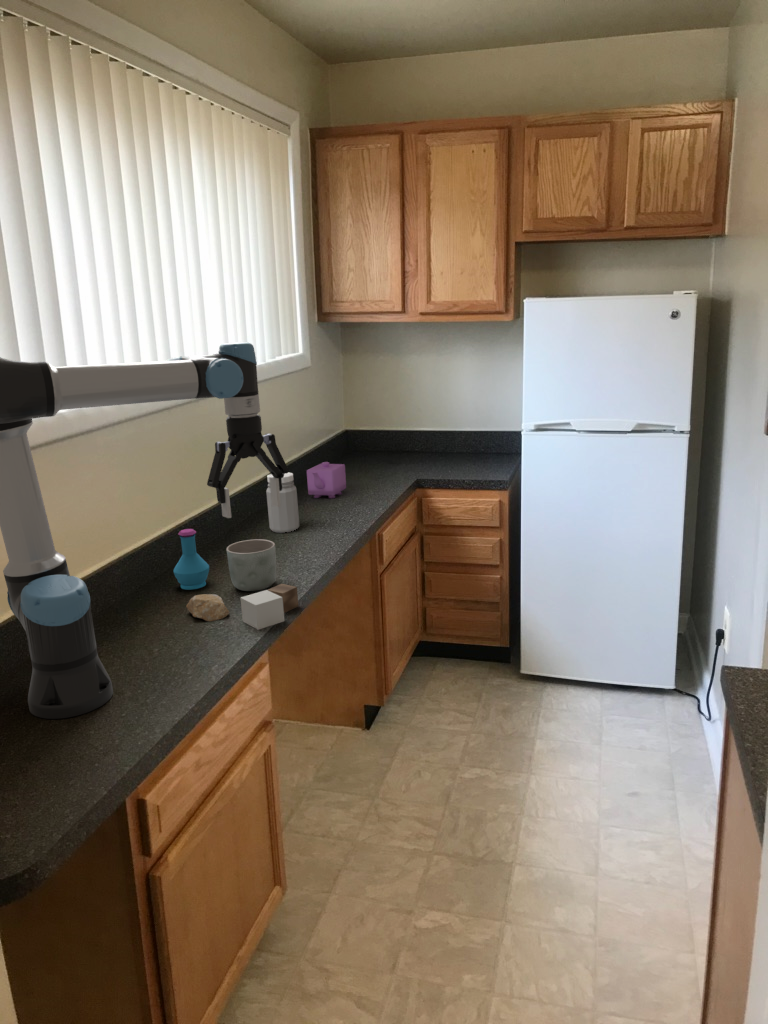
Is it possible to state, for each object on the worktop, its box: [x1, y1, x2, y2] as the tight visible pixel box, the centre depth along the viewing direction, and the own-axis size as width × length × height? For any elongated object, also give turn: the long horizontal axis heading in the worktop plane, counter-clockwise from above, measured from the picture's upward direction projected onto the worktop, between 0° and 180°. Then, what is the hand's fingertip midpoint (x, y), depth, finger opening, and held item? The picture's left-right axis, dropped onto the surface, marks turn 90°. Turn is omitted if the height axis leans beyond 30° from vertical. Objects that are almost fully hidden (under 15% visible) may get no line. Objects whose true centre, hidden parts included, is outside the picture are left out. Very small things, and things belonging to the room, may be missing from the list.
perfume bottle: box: [173, 528, 210, 591], centre depth 220 cm, size 9×9×15 cm
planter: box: [226, 538, 277, 592], centre depth 217 cm, size 12×12×11 cm
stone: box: [186, 593, 230, 622], centre depth 200 cm, size 8×10×4 cm
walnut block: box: [267, 583, 299, 614], centre depth 201 cm, size 5×5×5 cm
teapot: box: [306, 461, 347, 499], centre depth 310 cm, size 20×10×12 cm, turn 159°
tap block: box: [239, 589, 285, 631], centre depth 194 cm, size 7×7×6 cm
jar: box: [265, 471, 300, 534], centre depth 268 cm, size 10×10×18 cm
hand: (252, 511), depth 188 cm, fingers open, 12 cm apart
